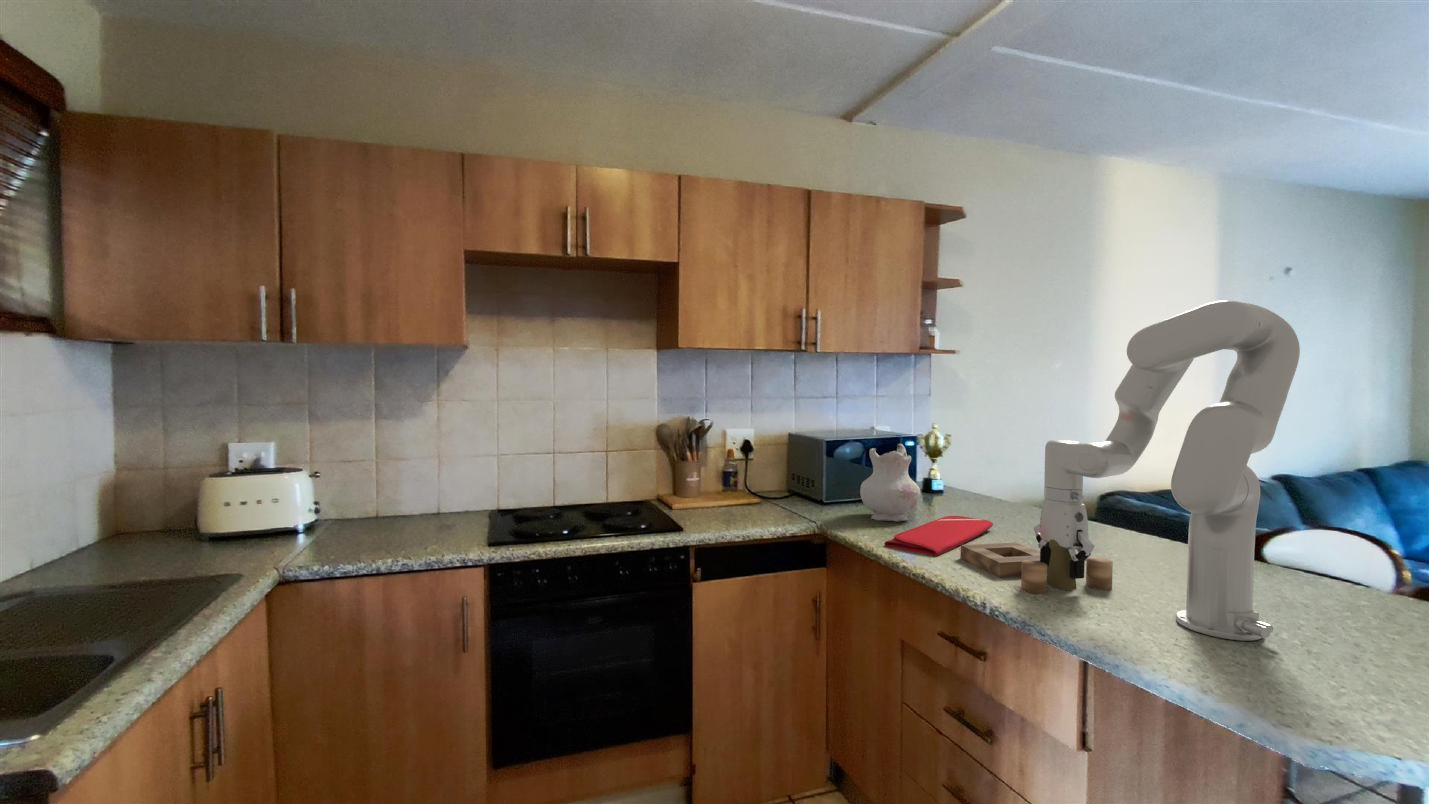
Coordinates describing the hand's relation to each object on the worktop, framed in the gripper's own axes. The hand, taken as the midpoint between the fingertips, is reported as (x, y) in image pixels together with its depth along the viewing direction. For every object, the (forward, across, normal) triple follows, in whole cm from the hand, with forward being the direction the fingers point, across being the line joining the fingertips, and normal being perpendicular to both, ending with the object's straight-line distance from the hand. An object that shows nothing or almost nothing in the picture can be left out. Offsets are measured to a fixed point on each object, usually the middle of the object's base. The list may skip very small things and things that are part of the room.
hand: (1061, 571), depth 139 cm
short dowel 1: (+3, -2, +8) cm, 9 cm away
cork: (+3, 0, 0) cm, 3 cm away
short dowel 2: (+3, -2, -8) cm, 9 cm away
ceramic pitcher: (+3, +72, +5) cm, 73 cm away
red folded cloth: (+4, +44, +3) cm, 44 cm away
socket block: (+3, +16, +2) cm, 16 cm away
